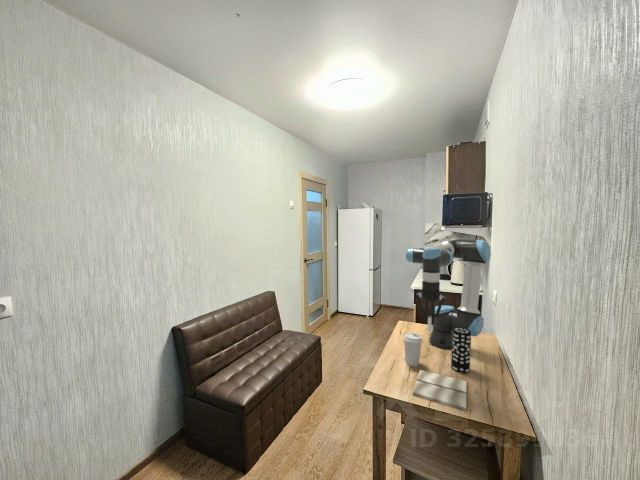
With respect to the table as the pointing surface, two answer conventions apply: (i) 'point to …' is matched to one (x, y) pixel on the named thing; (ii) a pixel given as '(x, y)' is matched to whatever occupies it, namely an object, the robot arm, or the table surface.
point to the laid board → (440, 395)
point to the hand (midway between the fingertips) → (429, 330)
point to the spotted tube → (461, 350)
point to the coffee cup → (412, 348)
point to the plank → (442, 381)
